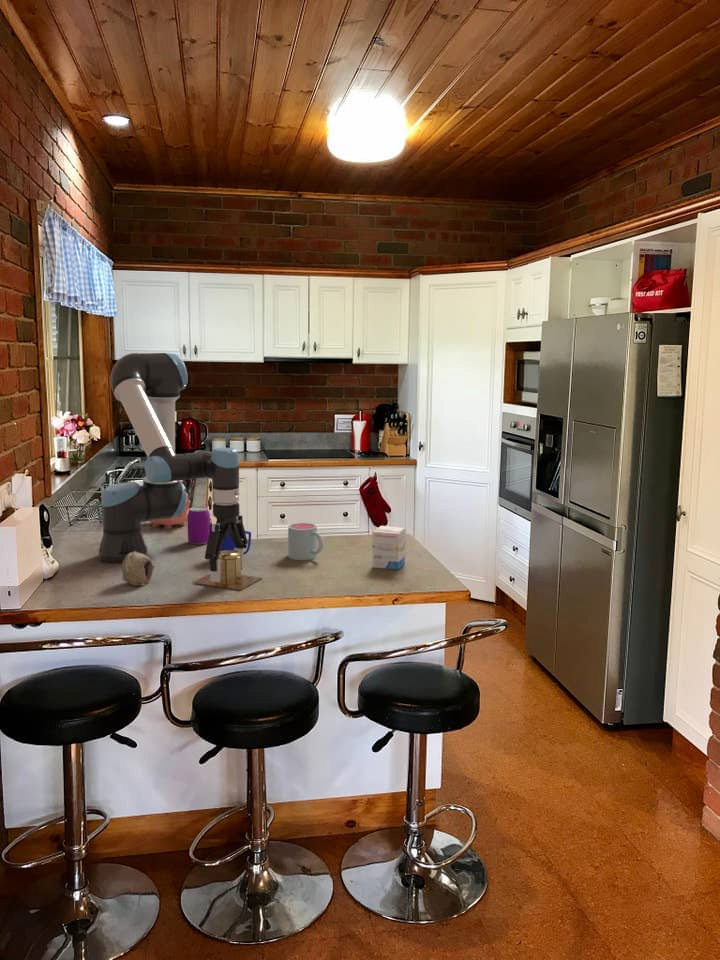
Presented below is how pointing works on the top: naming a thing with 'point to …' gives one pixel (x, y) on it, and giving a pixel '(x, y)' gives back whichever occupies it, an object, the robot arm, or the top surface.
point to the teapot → (174, 518)
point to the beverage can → (198, 525)
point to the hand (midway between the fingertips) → (227, 575)
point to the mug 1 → (230, 545)
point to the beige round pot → (137, 569)
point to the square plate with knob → (233, 586)
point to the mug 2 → (303, 541)
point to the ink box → (388, 547)
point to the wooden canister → (230, 567)
